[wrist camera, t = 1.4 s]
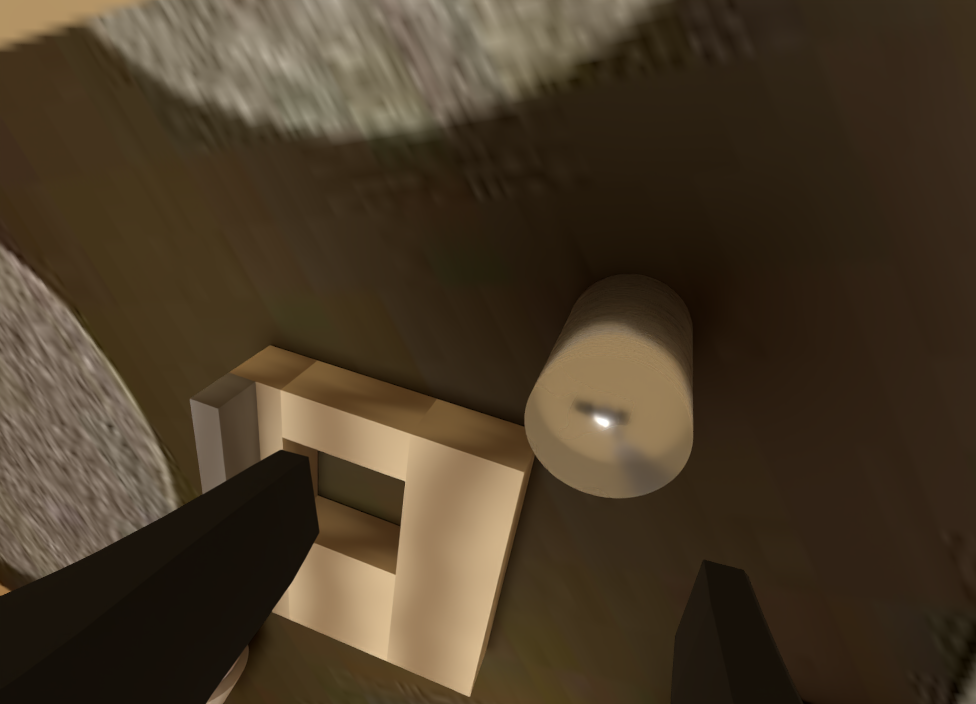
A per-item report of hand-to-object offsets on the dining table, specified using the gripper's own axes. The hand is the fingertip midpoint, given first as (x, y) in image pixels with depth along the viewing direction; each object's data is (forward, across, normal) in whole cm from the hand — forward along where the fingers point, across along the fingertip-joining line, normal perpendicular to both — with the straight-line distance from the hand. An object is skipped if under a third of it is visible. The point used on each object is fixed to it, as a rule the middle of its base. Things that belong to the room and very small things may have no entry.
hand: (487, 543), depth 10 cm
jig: (+10, +7, +12) cm, 17 cm away
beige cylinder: (+10, -2, 0) cm, 11 cm away
